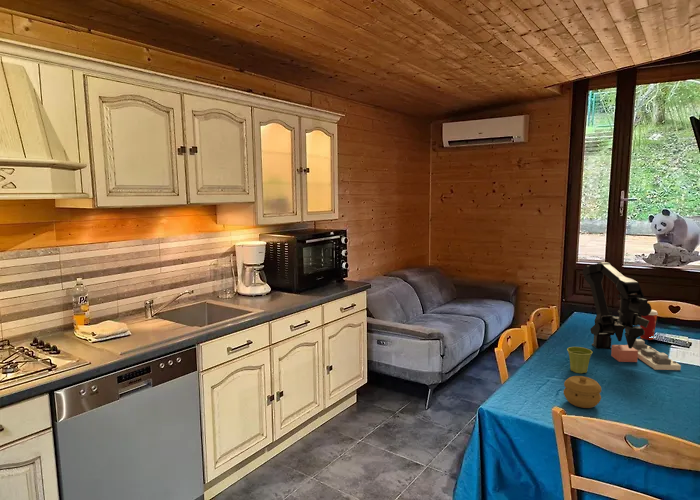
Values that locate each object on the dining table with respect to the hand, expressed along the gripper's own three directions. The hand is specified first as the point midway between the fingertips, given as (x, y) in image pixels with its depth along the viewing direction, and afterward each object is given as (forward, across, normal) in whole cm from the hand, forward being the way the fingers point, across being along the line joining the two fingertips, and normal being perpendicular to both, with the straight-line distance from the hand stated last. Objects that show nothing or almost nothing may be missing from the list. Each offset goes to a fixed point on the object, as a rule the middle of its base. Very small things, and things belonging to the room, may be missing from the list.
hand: (624, 344), depth 208 cm
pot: (+6, -46, +36) cm, 59 cm away
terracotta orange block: (+6, 0, 0) cm, 6 cm away
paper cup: (+7, +30, -25) cm, 40 cm away
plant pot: (+6, -15, +25) cm, 30 cm away
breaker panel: (+6, 0, -12) cm, 13 cm away
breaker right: (+3, -9, -11) cm, 14 cm away
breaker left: (+3, +9, -10) cm, 14 cm away
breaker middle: (+4, 0, -10) cm, 11 cm away
